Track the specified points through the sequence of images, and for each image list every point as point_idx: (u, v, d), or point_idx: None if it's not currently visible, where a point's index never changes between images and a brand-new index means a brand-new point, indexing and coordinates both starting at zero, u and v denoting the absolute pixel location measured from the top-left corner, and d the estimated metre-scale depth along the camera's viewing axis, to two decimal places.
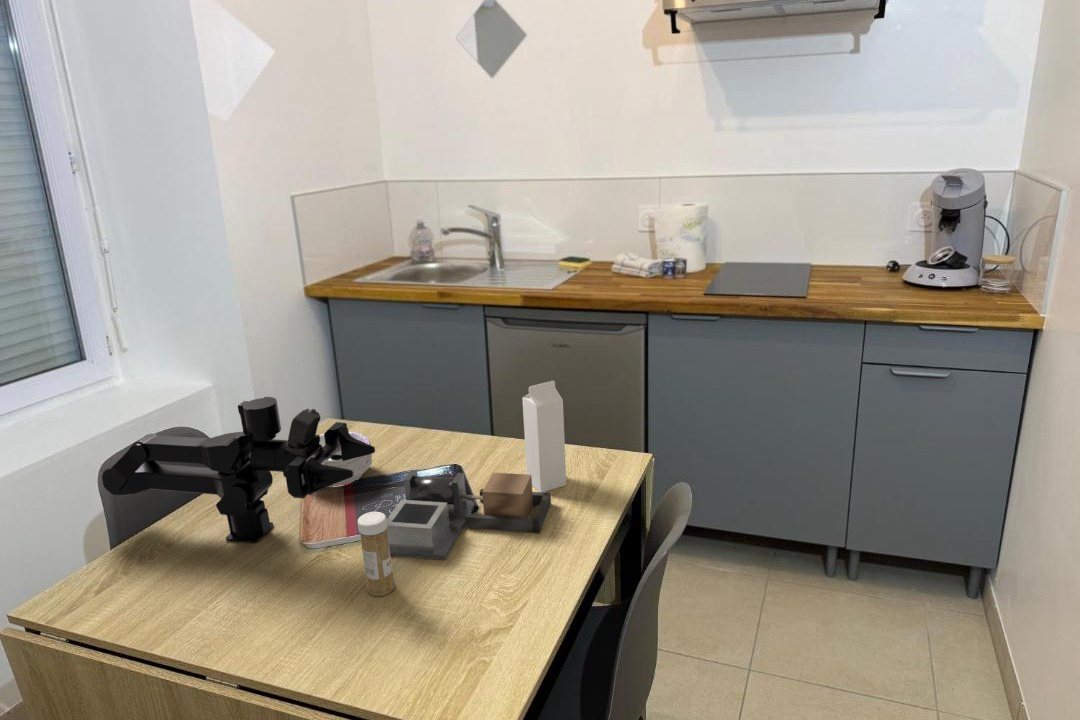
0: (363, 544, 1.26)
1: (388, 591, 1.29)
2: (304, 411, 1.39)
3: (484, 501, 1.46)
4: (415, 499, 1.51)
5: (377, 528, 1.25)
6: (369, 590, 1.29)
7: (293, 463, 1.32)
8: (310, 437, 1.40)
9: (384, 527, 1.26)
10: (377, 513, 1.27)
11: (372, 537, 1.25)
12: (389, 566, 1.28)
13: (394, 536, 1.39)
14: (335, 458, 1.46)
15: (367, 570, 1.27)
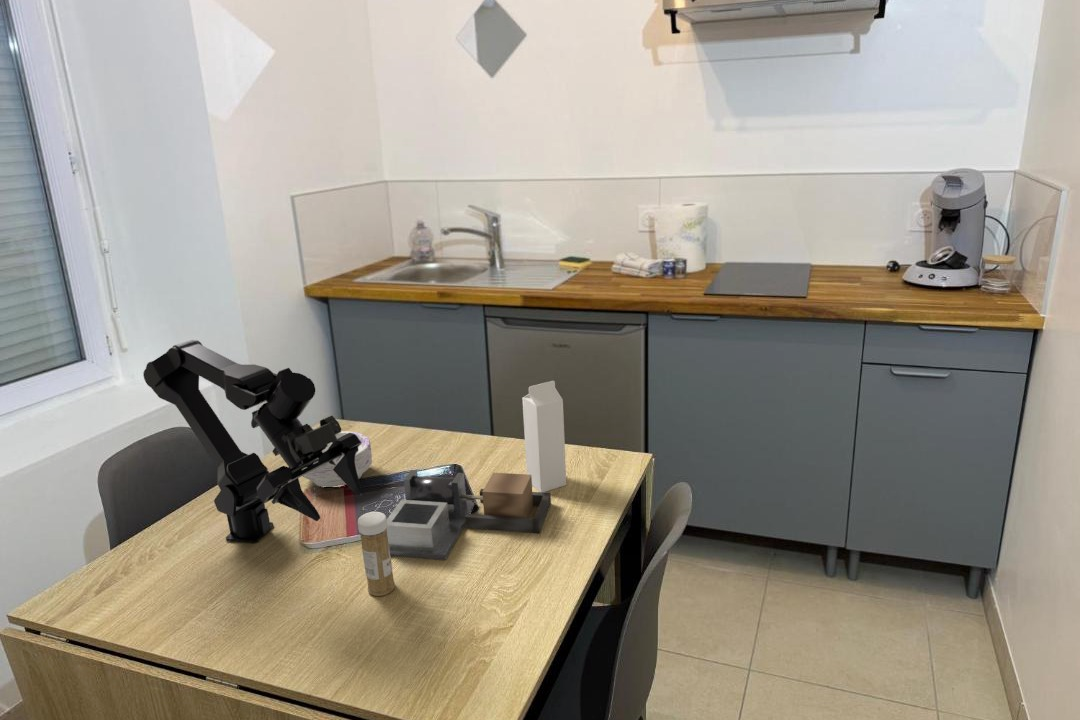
0: (363, 544, 1.26)
1: (388, 591, 1.29)
2: (327, 426, 1.28)
3: (484, 501, 1.46)
4: (415, 499, 1.51)
5: (377, 528, 1.25)
6: (369, 590, 1.29)
7: (276, 477, 1.23)
8: None
9: (384, 527, 1.26)
10: (377, 513, 1.27)
11: (372, 537, 1.25)
12: (389, 566, 1.28)
13: (394, 536, 1.39)
14: (329, 461, 1.37)
15: (367, 570, 1.27)
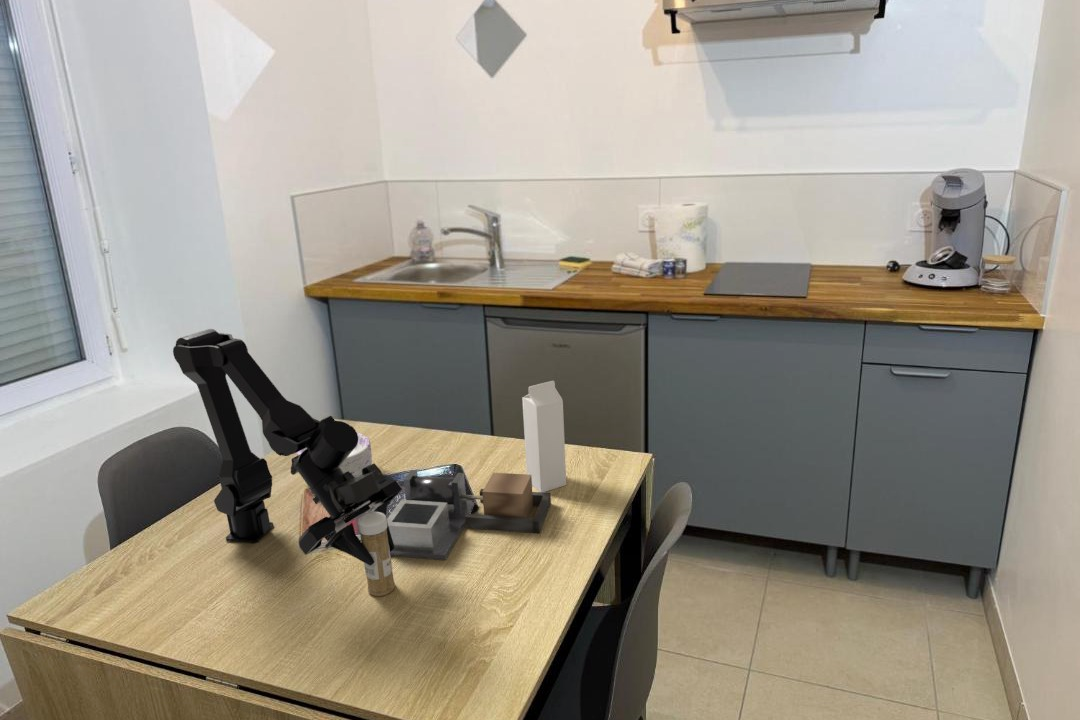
0: (363, 544, 1.26)
1: (388, 591, 1.29)
2: (370, 476, 1.25)
3: (484, 501, 1.46)
4: (415, 499, 1.51)
5: (377, 528, 1.25)
6: (369, 590, 1.29)
7: (320, 529, 1.21)
8: None
9: (384, 527, 1.26)
10: (377, 513, 1.27)
11: (372, 537, 1.25)
12: (389, 566, 1.28)
13: (394, 536, 1.39)
14: None
15: (367, 570, 1.27)
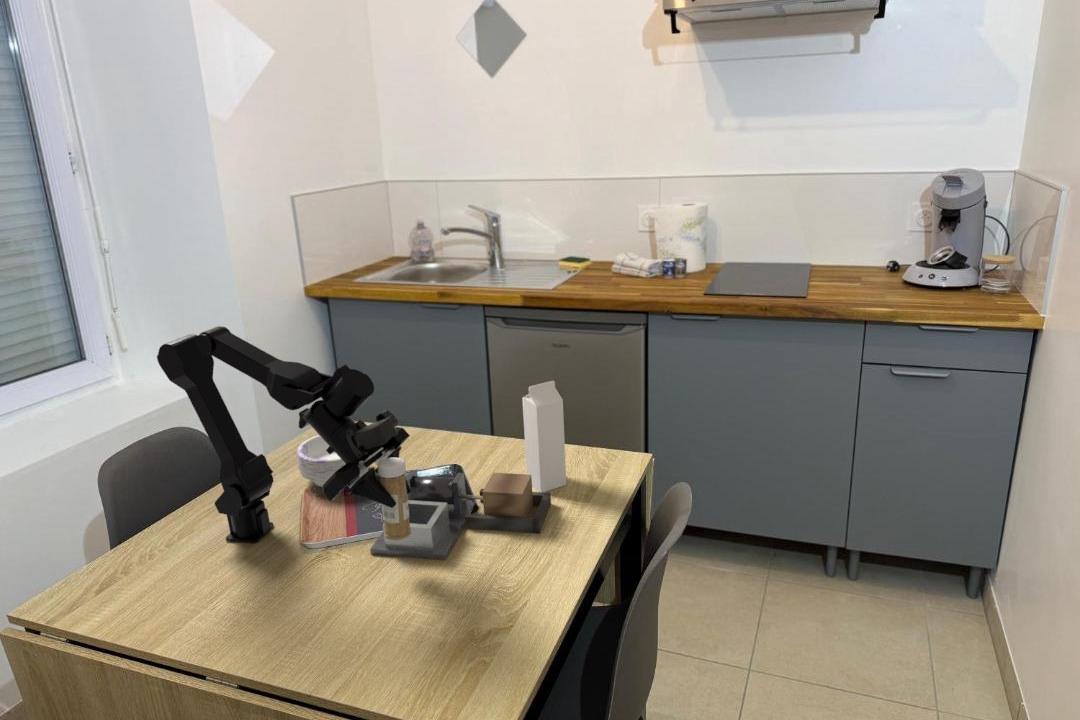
0: None
1: (407, 535, 1.33)
2: (389, 420, 1.29)
3: (484, 501, 1.46)
4: (415, 499, 1.51)
5: (399, 470, 1.29)
6: (388, 535, 1.32)
7: (347, 473, 1.23)
8: None
9: (404, 470, 1.30)
10: (395, 458, 1.32)
11: (394, 479, 1.29)
12: (407, 509, 1.32)
13: None
14: None
15: (387, 514, 1.31)
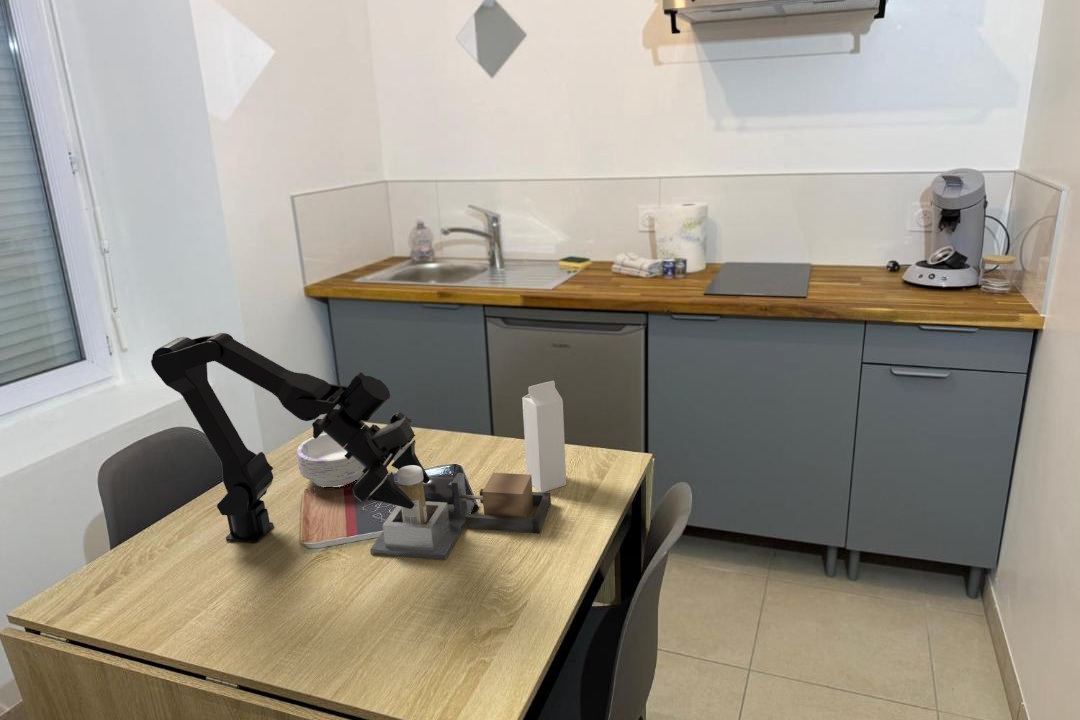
0: None
1: None
2: (405, 421, 1.38)
3: (484, 501, 1.46)
4: None
5: (419, 477, 1.38)
6: None
7: (378, 473, 1.31)
8: None
9: (422, 476, 1.40)
10: (410, 466, 1.41)
11: (415, 486, 1.38)
12: (426, 512, 1.42)
13: (394, 536, 1.39)
14: None
15: (409, 519, 1.40)
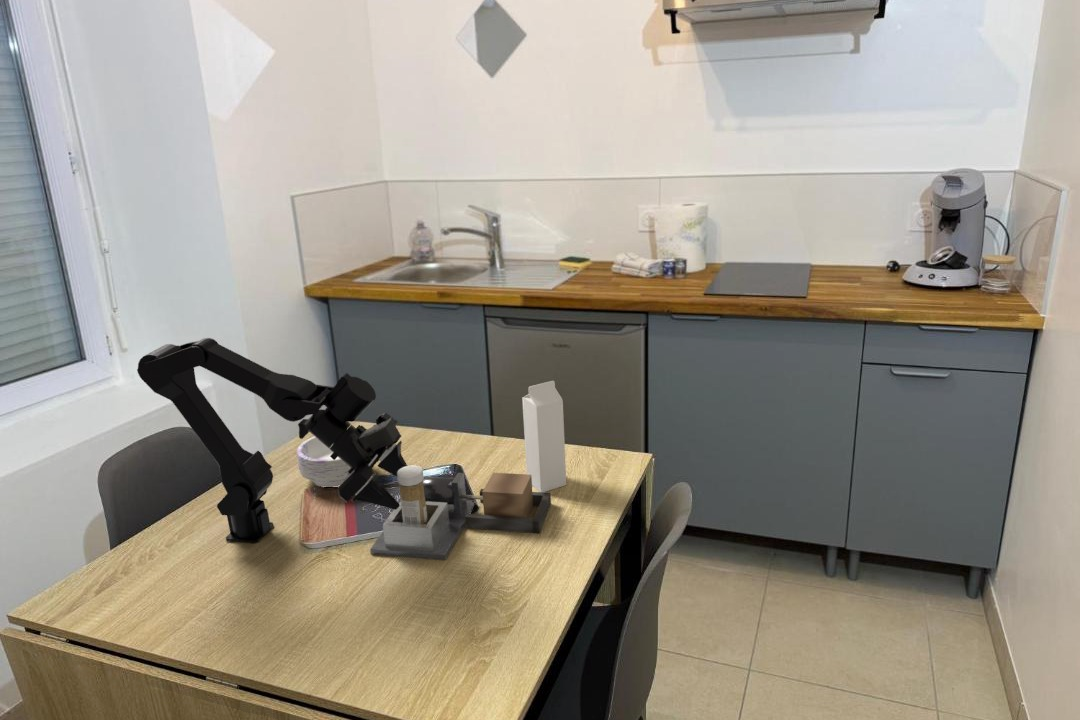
0: (405, 495, 1.38)
1: None
2: (391, 421, 1.38)
3: (484, 501, 1.46)
4: None
5: (419, 477, 1.38)
6: None
7: (363, 473, 1.32)
8: None
9: (423, 476, 1.39)
10: (411, 466, 1.40)
11: (415, 486, 1.38)
12: (426, 512, 1.42)
13: (394, 536, 1.39)
14: None
15: (409, 519, 1.40)
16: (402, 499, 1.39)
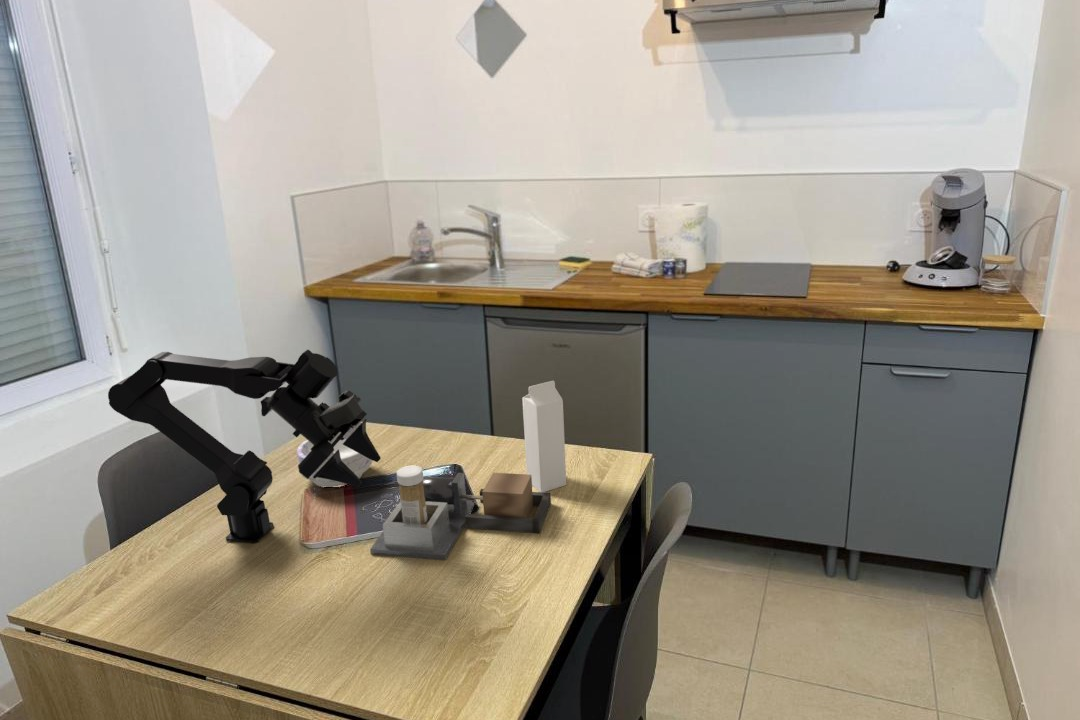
0: (405, 495, 1.38)
1: None
2: (353, 399, 1.38)
3: (484, 501, 1.46)
4: None
5: (419, 477, 1.38)
6: None
7: (323, 450, 1.31)
8: None
9: (422, 476, 1.39)
10: (410, 466, 1.40)
11: (415, 486, 1.38)
12: (426, 512, 1.42)
13: (394, 536, 1.39)
14: None
15: (409, 519, 1.40)
16: (402, 499, 1.39)
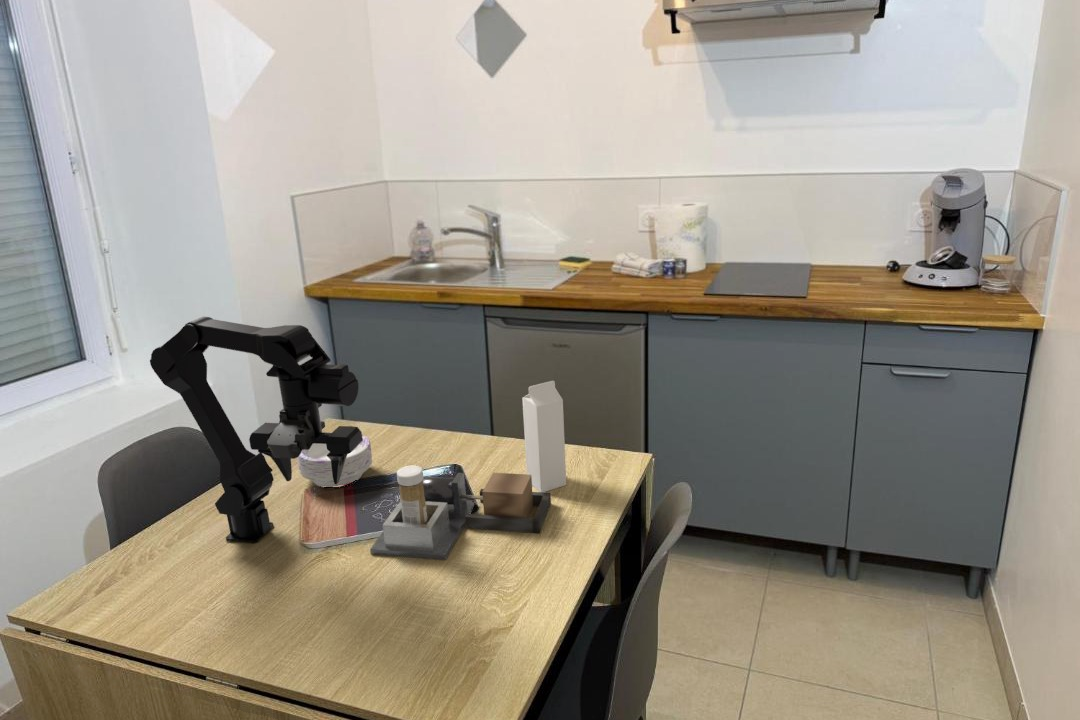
0: (405, 495, 1.38)
1: None
2: (286, 447, 1.28)
3: (484, 501, 1.46)
4: None
5: (419, 477, 1.38)
6: None
7: (253, 442, 1.36)
8: None
9: (422, 476, 1.39)
10: (411, 466, 1.40)
11: (415, 486, 1.38)
12: (426, 512, 1.42)
13: (394, 536, 1.39)
14: None
15: (409, 519, 1.40)
16: (402, 499, 1.39)
